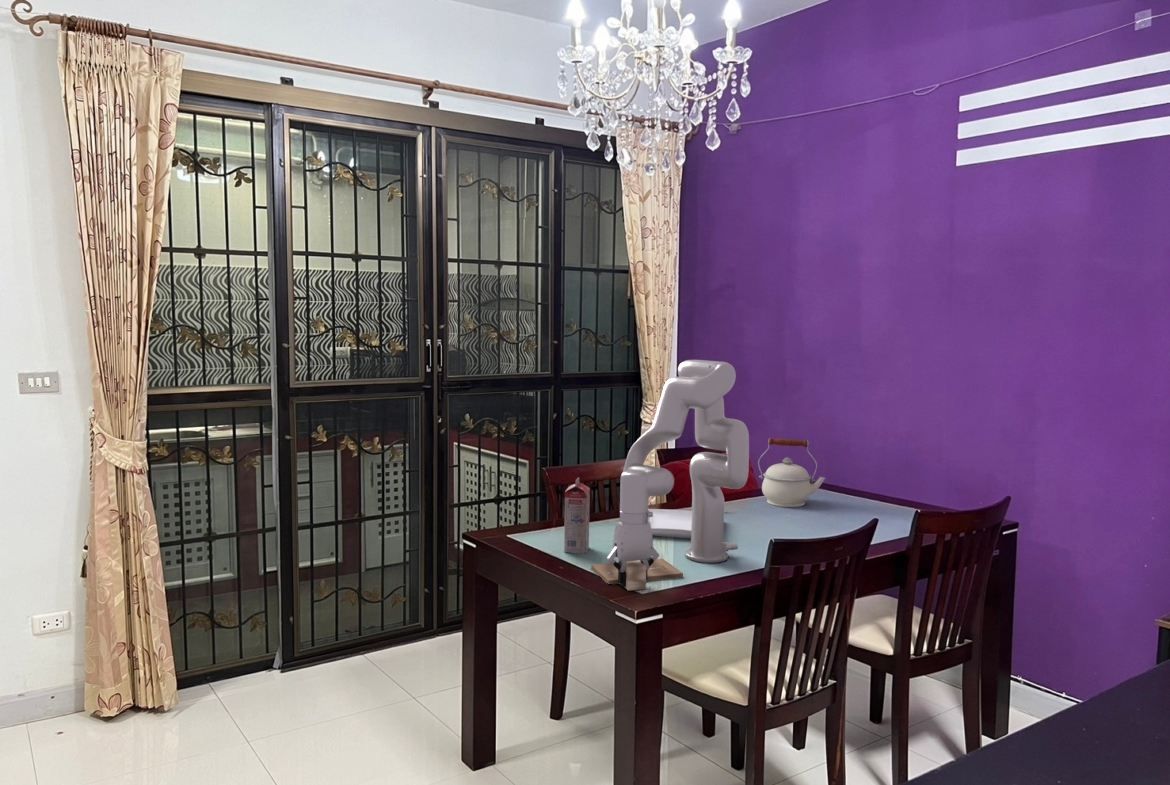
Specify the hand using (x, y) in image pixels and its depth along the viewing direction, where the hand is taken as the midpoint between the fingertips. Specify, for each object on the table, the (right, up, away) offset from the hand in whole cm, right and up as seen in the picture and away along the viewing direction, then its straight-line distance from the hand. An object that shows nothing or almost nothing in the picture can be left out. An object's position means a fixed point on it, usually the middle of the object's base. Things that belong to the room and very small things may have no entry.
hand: (632, 583), depth 222 cm
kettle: (+66, +8, +98) cm, 118 cm away
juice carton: (-15, +3, +33) cm, 37 cm away
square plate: (+19, +4, +59) cm, 62 cm away
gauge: (-1, 0, +3) cm, 3 cm away
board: (+2, 0, +12) cm, 12 cm away
